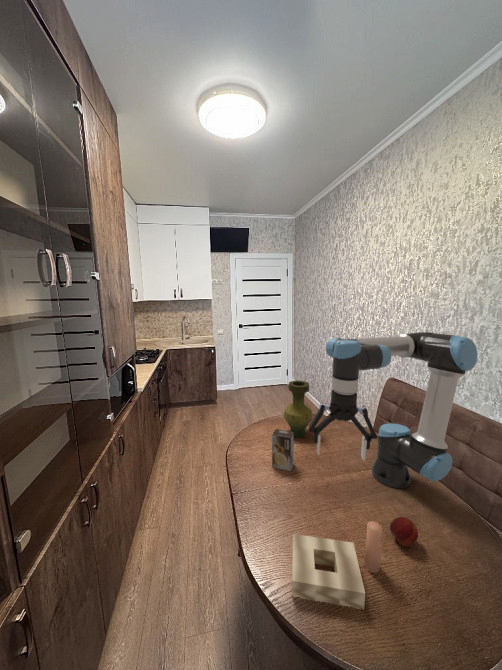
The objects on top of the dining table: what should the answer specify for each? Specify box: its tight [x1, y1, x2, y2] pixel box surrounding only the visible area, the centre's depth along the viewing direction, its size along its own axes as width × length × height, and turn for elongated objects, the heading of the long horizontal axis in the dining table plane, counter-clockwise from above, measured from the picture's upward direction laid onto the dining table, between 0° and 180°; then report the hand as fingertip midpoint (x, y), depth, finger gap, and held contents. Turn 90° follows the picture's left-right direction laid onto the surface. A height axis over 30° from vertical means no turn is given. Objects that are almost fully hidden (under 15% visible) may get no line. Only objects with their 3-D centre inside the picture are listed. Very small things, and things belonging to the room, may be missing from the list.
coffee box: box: [271, 428, 295, 472], centre depth 124 cm, size 9×6×16 cm
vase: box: [283, 380, 313, 439], centre depth 151 cm, size 16×16×30 cm
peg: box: [364, 520, 384, 574], centre depth 77 cm, size 4×4×13 cm
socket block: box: [291, 533, 366, 609], centre depth 75 cm, size 18×14×5 cm
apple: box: [389, 516, 419, 547], centre depth 85 cm, size 7×8×8 cm
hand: (340, 455), depth 85 cm, fingers open, 13 cm apart
